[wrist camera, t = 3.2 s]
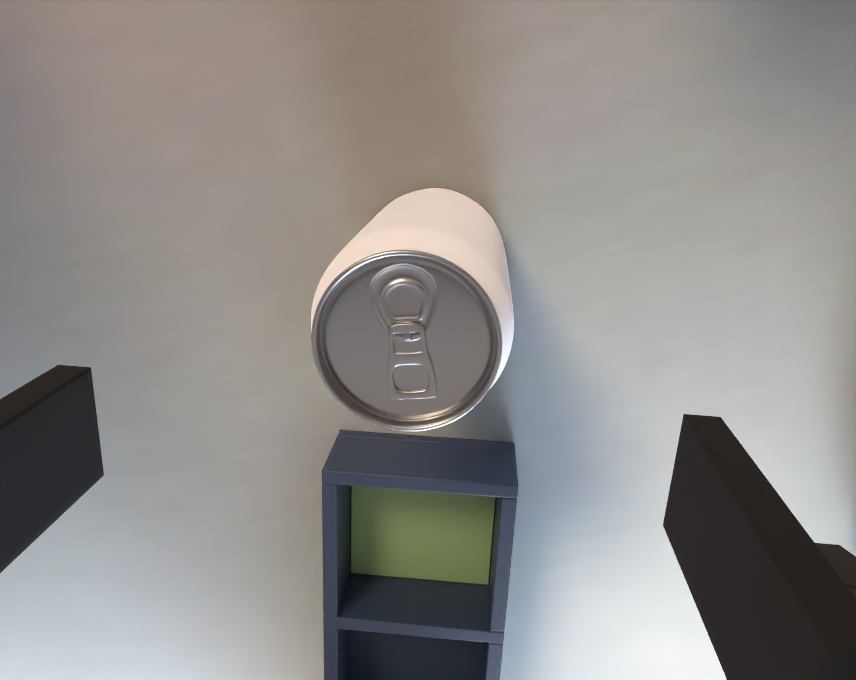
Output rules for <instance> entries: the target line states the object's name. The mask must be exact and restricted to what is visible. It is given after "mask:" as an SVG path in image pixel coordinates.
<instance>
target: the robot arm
mask: <svg viewBox="0 0 856 680" xmlns="http://www.w3.org/2000/svg"><path fill="white" fill-rule="evenodd" d="M103 475H104V472H103V464H102V456H101V448H100V439H99V431H98V423H97V415H96V407H95V398H94V390H93V382H92V374H91V368H90V367H77V366H65V365H57V366H56V367H54V368H52V369H51V370H49V371H47V372H46V373H44V374H42V375H40V376H39V377H37V378H35V379H34V380H32V381H30V382H29V383H27V384H25V385H24V386H22V387H20V388H19V389H17V390H15V391H13V392H12V393H10V394H8V395H7V396H5V397H3V398H2V399H0V573H1V572H2V571H3V570H4V569H5V568H6V567H7V566H8V565H9V564H10V563H11V562H12V561H13V560H15V559H16V558H17V557H18V556H19V555H20V554H21V553H22V552H23V551H24V550H25V549H26V548H27V547H28V546H29V545H30V544H31V543H32V542H34V541H35V540H36V539H37V538H38V537H39V536H40V535H41V534H42V533H43V532H44V531H45V530H46V529H47V528H48V527H49V526H50V525H52V524H53V523H54V522H55V521H56V520H57V519H58V518H59V517H60V516H61V515H62V514H63V513H64V512H65V511H66V510H67V509H68V508H69V507H71V506H72V505H73V504H74V503H75V502H76V501H77V500H78V499H79V498H80V497H81V496H82V495H83V494H84V493H85V492H86V491H87V490H89V489H90V488H91V487H92V486H93V485H94V484H95V483H96V482H97V481H98V480H99V479H100V478H101V477H102V476H103ZM663 526H664V528H665V531H666V533H667V536H668V538H669V541H670V543H671V545H672V548H673V550H674V553H675V555H676V557H677V560H678V562H679V565H680V567H681V570H682V572H683V574H684V577H685V579H686V582H687V584H688V586H689V589H690V591H691V594H692V596H693V599H694V601H695V603H696V606H697V608H698V611H699V613H700V615H701V618H702V620H703V623H704V625H705V628H706V630H707V632H708V635H709V637H710V640H711V642H712V644H713V647H714V649H715V652H716V654H717V656H718V659H719V661H720V664H721V666H722V669H723V671H724V673H725V676H726V678H727V680H856V557H855V556H854V555H852V554H851V553H850V552H848V551H847V550H845V549H844V548H843V547H841V546H840V545H832V544H821V543H814V542H813V540H812V539H811V538H810V536H809V535H808V534H807V532H806V531H805V530H804V528H803V527H802V526H801V524H800V523H799V522H798V520H797V519H796V518H795V516H794V515H793V514H792V512H791V511H790V510H789V508H788V507H787V505H786V504H785V503H784V501H783V500H782V499H781V497H780V496H779V495H778V493H777V492H776V491H775V489H774V488H773V487H772V485H771V484H770V483H769V481H768V480H767V479H766V477H765V476H764V475H763V473H762V472H761V471H760V469H759V468H758V467H757V465H756V464H755V463H754V461H753V460H752V459H751V457H750V456H749V455H748V453H747V452H746V451H745V449H744V448H743V446H742V445H741V444H740V442H739V441H738V440H737V438H736V437H735V436H734V434H733V433H732V432H731V430H730V429H729V428H728V426H727V425H726V424H725V422H724V421H723V420H722V418H721V417H713V416H701V415H688V414H684V415H683V421H682V426H681V432H680V437H679V442H678V448H677V453H676V458H675V464H674V469H673V475H672V480H671V485H670V491H669V496H668V501H667V507H666V512H665V518H664V523H663Z"/></svg>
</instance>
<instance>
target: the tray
mask: <svg viewBox="0 0 856 680" xmlns="http://www.w3.org/2000/svg"><path fill="white" fill-rule="evenodd" d="M322 483H323V484H322V524H323V610H324V680H499V679H500V669H501V658H502V648H503V638H504V627H505V617H506V607H507V596H508V586H509V576H510V565H511V555H512V545H513V535H514V524H515V514H516V504H517V493H518V478H517V467H516V456H515V444H514V443H511V442H498V441H484V440H470V439H457V438H443V437H430V436H416V435H402V434H389V433H375V432H362V431H348V430H340V431H339V434H338V436H337V438H336V441H335V443H334V445H333V447H332V450H331V452H330V454H329V456H328V459H327V461H326V463H325V465H324V468H323V470H322Z"/></svg>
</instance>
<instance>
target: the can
mask: <svg viewBox="0 0 856 680" xmlns="http://www.w3.org/2000/svg"><path fill="white" fill-rule="evenodd" d="M311 331H312V334H311V341H312V351H313V356H314V360H315V364H316V367H317V369H318V372H319V374H320V376H321V378H322V380H323V382H324V384H325V385H326V387H327V388H328V390H329V391H330V392H331V394H332V395H333V396H334V397H335V398H336V400H337V401H338V402H339V403H340V404H342V405H343V406H344V407H345V408H346V409H347V410H349V411H350V412H351V413H353V414H354V415H356V416H357V417H359V418H361V419H363V420H365V421H367V422H369V423H371V424H374V425H376V426H379V427H382V428H386V429H391V430H396V431H424V430H430V429H434V428H438V427H441V426H444V425H447V424H449V423H451V422H453V421H455V420H457V419H459V418H461V417H462V416H464V415H465V414H467V413H468V412H469V411H470V410H472V409H473V408H474V407H475V406H476V405H477V404H478V403H479V402H480V401H481V400H482V399H483V397H484V396H485V395H486V393H487V392H488V390H489V389H490V388H491V387H492V386H493V385H494V383H495V382H496V381H497V379H498V378H499V376H500V374H501V373H502V371H503V369H504V367H505V365H506V362H507V360H508V357H509V354H510V350H511V346H512V341H513V334H514V313H513V303H512V295H511V287H510V280H509V272H508V265H507V259H506V253H505V248H504V243H503V240H502V237H501V234H500V232H499V229H498V227H497V226H496V224H495V222H494V221H493V219H492V218H491V216H490V215H489V214H488V213H487V212H486V211H485V210H484V209H483V208H482V207H481V206H480V205H479V204H478V203H476V202H475V201H473V200H472V199H470V198H469V197H467V196H465V195H463V194H460V193H458V192H455V191H452V190H449V189H443V188H429V189H422V190H418V191H414V192H411V193H408V194H405V195H403V196H400V197H398V198H397V199H395V200H393V201H392V202H391V203H389V204H388V205H387V206H386V207H384V208H383V209H382V210H381V211H380V212H379V213H378V214H377V215H376V216H375V217H374V218H373V219H372V220H371V221H370V222H369V223H368V224H367V225H366V226H365V227H364V228H363V229H362V230H361V231H360V232H359V233H358V234H357V235H356V236H355V237H354V238H353V239H352V240H351V241H350V242H349V243H348V244H347V245H346V246H345V247H344V248H343V249H342V251H341V252H340V253H339V254H338V255H337V256H336V257H335V259H334V260H333V261H332V262H331V264H330V265H329V266H328V268H327V269H326V271H325V273H324V275H323V276H322V278H321V280H320V283H319V285H318V287H317V290H316V293H315V296H314V300H313V305H312V311H311Z"/></svg>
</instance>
